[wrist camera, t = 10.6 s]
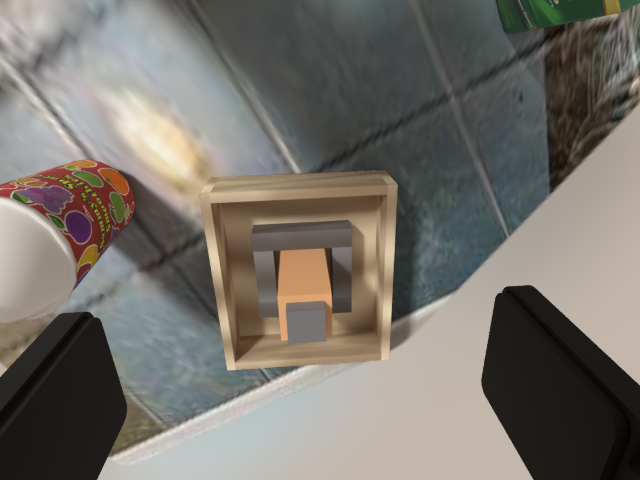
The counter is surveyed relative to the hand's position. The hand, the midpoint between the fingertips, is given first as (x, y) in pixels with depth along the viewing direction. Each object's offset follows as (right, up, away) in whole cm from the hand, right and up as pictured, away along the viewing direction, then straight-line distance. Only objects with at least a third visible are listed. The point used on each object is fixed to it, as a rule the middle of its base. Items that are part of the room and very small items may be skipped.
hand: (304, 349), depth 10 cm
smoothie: (-19, +7, +27) cm, 34 cm away
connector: (-1, +1, +30) cm, 30 cm away
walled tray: (-1, +1, +31) cm, 31 cm away
